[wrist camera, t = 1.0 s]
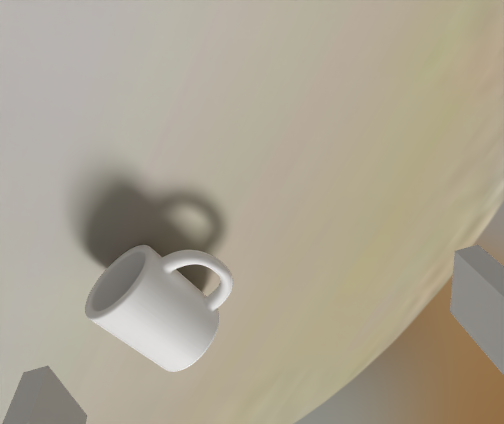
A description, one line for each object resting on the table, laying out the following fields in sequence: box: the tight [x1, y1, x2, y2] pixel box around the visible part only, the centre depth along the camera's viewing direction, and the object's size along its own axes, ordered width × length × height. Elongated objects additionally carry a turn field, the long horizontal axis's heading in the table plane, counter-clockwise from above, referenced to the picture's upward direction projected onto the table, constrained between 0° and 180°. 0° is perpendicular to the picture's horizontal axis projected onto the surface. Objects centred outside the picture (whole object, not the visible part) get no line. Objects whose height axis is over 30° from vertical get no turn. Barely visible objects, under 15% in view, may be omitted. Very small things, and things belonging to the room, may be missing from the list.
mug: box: [85, 245, 233, 372], centre depth 36 cm, size 12×10×8 cm
